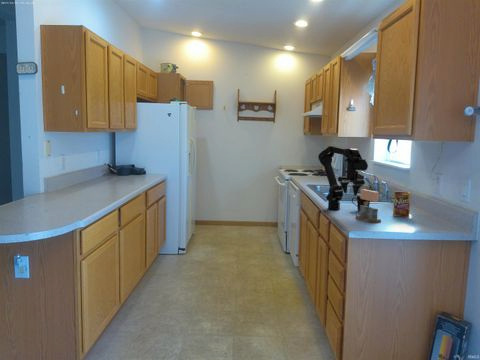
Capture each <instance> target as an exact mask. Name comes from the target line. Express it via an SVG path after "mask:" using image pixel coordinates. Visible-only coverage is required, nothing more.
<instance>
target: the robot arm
mask: <svg viewBox="0 0 480 360" xmlns="http://www.w3.org/2000/svg"><path fill="white" fill-rule="evenodd" d="M335 154H338V155H343V156H344V157H345V158H346V159H344V162H346V170H344V171H345V173H346V175H345V176H339V177H337V179H336V175H335V171H334V168H333V166H332V164H333V163H332V162H333V157H334V156H335ZM317 157H318V160H319V163H320V164H321V165H322V166H323V167H324V171H325V173H326V177H327V181H328V185H329V189H328V194H327V195H326V196H325V198H326V200H327V201H328V203H327V205H328V206H327V208H326V210H328V211H329V210H331V211H338V210H339V211H340V209H341V202H340V201H342V199H343V195H344V194H347V192H348V185H349V183H352V191H353V197H354V196H355V197H357V195H358V193H359V190H360V188H361V187H363V186H364V185H365V184H366V180H364V178H365V176H364V175H363V174H360V173H359V171H362V172H365V171H367V169H368V168H369V164H368V162H367V160H366V159H365V158H362V155H361V154H360V151H359V149H358V148H344V147H339V146H335V145H329V146H328V147H326V148H325V149H323V150H322V151H321V152H320V153H318V156H317ZM338 182H339V184H340V185H339V184H338Z"/></svg>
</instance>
